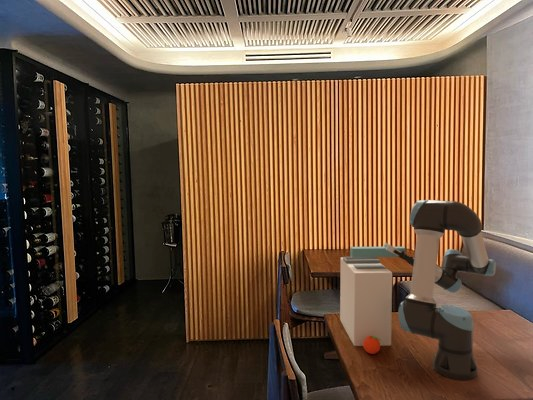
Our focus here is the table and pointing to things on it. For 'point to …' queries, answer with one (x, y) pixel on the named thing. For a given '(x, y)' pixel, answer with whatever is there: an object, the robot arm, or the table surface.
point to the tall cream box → (365, 299)
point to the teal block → (373, 252)
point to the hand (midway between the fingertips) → (385, 246)
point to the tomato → (371, 344)
